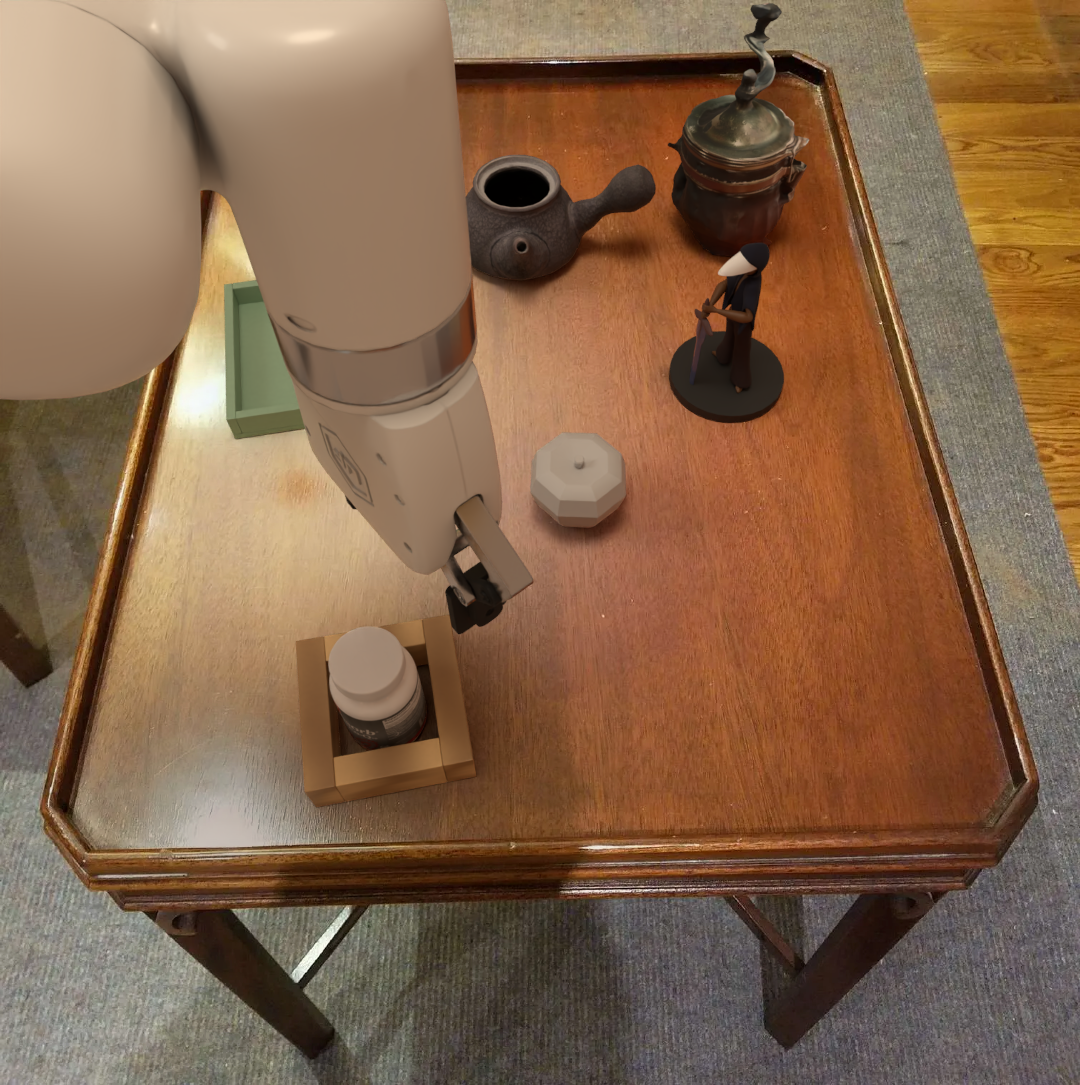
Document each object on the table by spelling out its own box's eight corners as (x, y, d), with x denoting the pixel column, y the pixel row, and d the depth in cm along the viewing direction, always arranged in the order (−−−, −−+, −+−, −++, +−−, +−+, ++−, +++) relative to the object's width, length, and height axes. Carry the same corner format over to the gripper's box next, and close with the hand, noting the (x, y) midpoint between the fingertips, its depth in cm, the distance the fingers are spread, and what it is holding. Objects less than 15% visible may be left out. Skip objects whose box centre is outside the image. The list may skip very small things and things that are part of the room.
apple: (640, 488, 76) (647, 438, 70) (603, 562, 72) (608, 516, 66) (552, 456, 77) (552, 405, 72) (511, 527, 74) (508, 479, 68)
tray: (235, 439, 79) (226, 419, 76) (231, 305, 87) (223, 284, 85) (415, 411, 80) (411, 391, 78) (394, 282, 89) (390, 261, 87)
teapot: (456, 314, 86) (446, 227, 78) (456, 207, 95) (448, 118, 86) (655, 307, 87) (667, 220, 78) (638, 202, 95) (647, 112, 86)
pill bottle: (331, 718, 65) (299, 659, 57) (390, 665, 67) (368, 600, 59) (385, 772, 63) (360, 719, 55) (445, 715, 65) (430, 655, 57)
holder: (315, 807, 62) (304, 792, 59) (306, 661, 67) (295, 640, 64) (476, 776, 63) (473, 760, 60) (453, 635, 68) (449, 613, 66)
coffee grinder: (779, 176, 97) (822, 1, 82) (787, 272, 89) (836, 98, 74) (659, 170, 98) (680, -5, 82) (656, 265, 90) (679, 91, 75)
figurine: (650, 354, 83) (669, 218, 71) (750, 326, 85) (785, 189, 73) (698, 435, 78) (727, 304, 66) (802, 404, 80) (850, 271, 68)
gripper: (178, 236, 37) (281, 485, 51) (425, 515, 29) (464, 713, 44) (337, 162, 39) (393, 420, 54) (601, 403, 32) (583, 625, 46)
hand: (425, 552), depth 49 cm, fingers open, 9 cm apart
